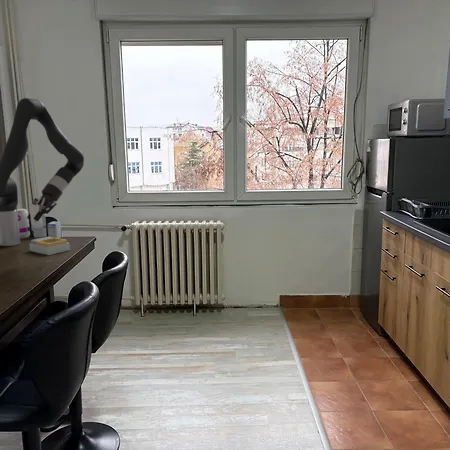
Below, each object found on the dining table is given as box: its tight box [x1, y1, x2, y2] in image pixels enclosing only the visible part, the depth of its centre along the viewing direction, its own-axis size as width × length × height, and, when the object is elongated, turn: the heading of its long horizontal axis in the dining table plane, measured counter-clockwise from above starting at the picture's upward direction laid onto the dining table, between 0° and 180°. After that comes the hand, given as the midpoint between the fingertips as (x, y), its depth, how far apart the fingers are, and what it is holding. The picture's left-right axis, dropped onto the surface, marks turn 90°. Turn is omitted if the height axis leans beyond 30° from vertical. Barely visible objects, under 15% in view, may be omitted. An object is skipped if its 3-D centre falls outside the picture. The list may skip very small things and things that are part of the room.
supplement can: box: [17, 208, 31, 239], centre depth 227 cm, size 8×8×15 cm
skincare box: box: [33, 213, 48, 239], centre depth 228 cm, size 6×4×12 cm
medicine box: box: [47, 221, 62, 239], centre depth 223 cm, size 8×4×9 cm, turn 4°
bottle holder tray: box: [28, 236, 71, 256], centre depth 198 cm, size 15×11×5 cm
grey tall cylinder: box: [28, 200, 43, 232], centre depth 179 cm, size 4×4×12 cm
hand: (32, 219), depth 177 cm, fingers closed on grey tall cylinder, 4 cm apart
